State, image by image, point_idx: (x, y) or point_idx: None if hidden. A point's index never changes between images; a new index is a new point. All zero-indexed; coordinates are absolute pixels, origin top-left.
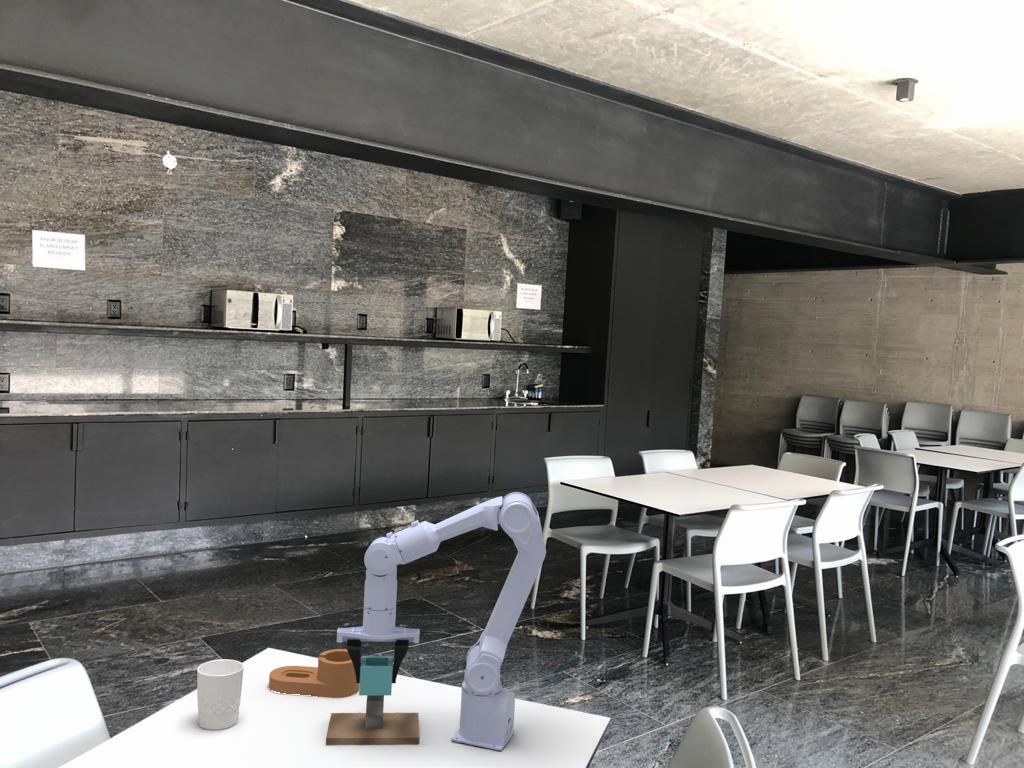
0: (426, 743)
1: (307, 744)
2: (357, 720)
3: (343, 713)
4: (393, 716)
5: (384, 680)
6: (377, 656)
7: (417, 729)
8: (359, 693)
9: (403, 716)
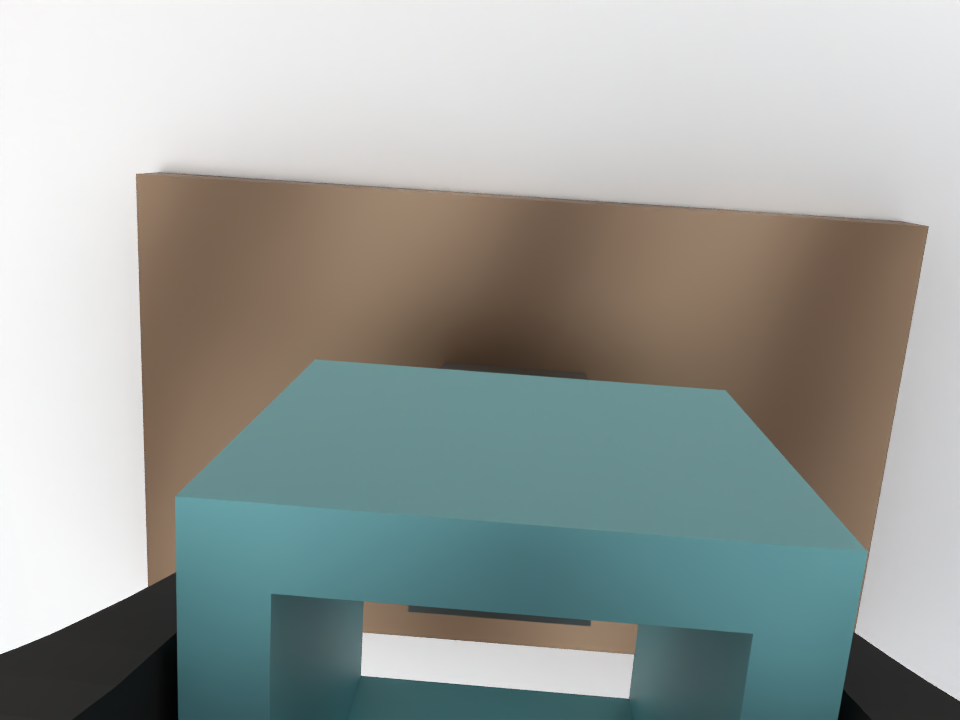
0: (887, 631)
1: (44, 565)
2: (371, 343)
3: (244, 192)
4: (687, 286)
5: None
6: (510, 545)
7: None
8: None
9: (777, 294)
